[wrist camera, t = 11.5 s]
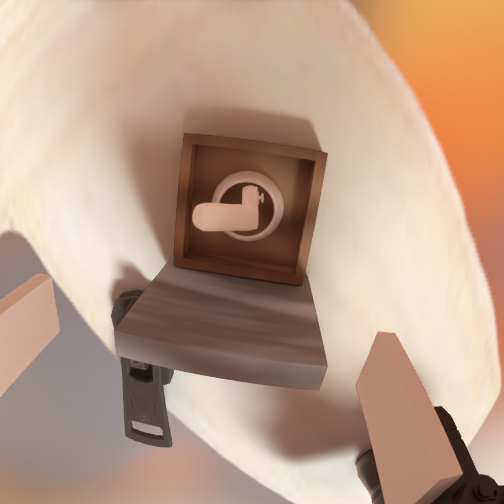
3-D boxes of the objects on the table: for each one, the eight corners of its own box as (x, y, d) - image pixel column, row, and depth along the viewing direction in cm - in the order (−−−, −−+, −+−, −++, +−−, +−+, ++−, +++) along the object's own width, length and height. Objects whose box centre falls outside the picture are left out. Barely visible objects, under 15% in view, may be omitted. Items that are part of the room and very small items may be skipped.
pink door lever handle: (154, 166, 28) (205, 155, 23) (239, 175, 37) (290, 171, 32) (153, 247, 28) (205, 254, 24) (238, 238, 38) (289, 242, 33)
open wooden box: (303, 296, 37) (318, 390, 22) (171, 275, 38) (117, 355, 23) (331, 153, 32) (381, 164, 17) (183, 133, 32) (113, 129, 17)
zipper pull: (122, 438, 41) (91, 309, 33) (135, 411, 47) (115, 285, 39) (175, 451, 41) (163, 323, 32) (183, 422, 47) (179, 295, 39)
